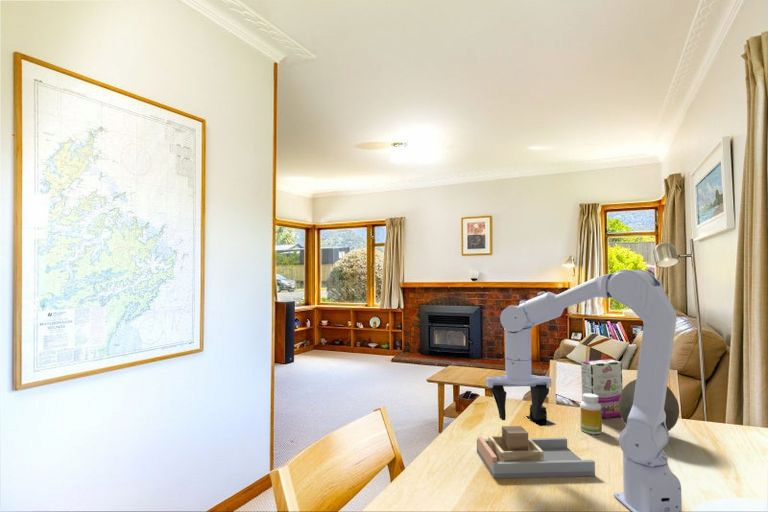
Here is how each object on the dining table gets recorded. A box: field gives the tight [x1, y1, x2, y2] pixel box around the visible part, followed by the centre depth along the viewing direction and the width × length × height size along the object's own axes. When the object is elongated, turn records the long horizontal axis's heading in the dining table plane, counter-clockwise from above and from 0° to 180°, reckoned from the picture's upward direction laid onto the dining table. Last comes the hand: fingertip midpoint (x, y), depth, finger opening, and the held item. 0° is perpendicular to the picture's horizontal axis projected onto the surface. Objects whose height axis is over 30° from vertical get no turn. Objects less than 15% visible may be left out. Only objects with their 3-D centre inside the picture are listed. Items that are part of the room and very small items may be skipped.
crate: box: [487, 435, 544, 462], centre depth 100 cm, size 9×9×3 cm
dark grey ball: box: [619, 379, 680, 432], centre depth 116 cm, size 14×14×15 cm
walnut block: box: [501, 425, 529, 451], centre depth 100 cm, size 4×4×6 cm
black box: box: [526, 404, 557, 427], centre depth 129 cm, size 12×7×5 cm, turn 15°
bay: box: [476, 436, 596, 479], centre depth 100 cm, size 14×22×4 cm, turn 93°
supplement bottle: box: [579, 393, 603, 435], centre depth 121 cm, size 5×5×10 cm
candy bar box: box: [580, 358, 623, 420], centre depth 133 cm, size 11×5×16 cm, turn 105°
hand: (518, 418), depth 100 cm, fingers open, 7 cm apart
